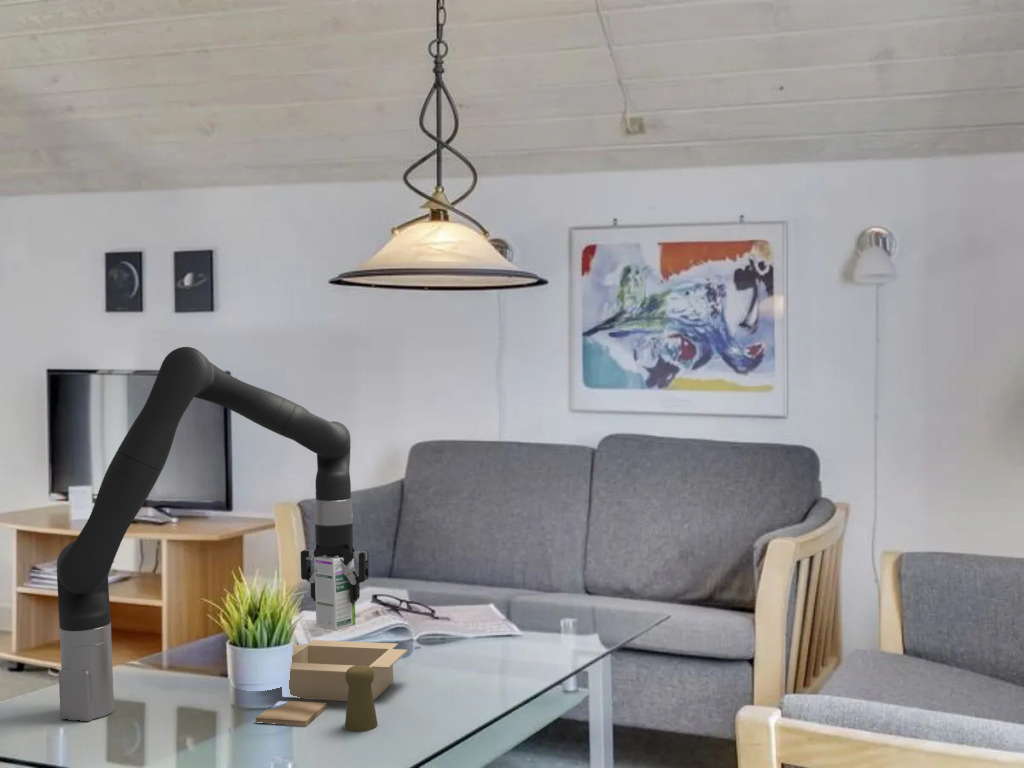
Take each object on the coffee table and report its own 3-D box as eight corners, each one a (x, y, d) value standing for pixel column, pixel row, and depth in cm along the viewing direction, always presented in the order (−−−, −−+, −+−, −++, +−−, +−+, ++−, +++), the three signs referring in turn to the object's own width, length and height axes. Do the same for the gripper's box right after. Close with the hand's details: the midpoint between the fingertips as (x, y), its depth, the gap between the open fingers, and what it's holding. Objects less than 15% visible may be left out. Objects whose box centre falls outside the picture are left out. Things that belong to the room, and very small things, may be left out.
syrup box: (335, 631, 218) (334, 559, 218) (315, 626, 222) (313, 555, 221) (356, 625, 223) (355, 554, 222) (335, 621, 227) (334, 551, 226)
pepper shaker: (347, 720, 205) (346, 662, 205) (379, 719, 205) (378, 661, 204) (341, 731, 199) (339, 672, 199) (374, 731, 199) (373, 671, 198)
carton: (414, 677, 230) (413, 644, 230) (382, 709, 211) (381, 673, 210) (299, 671, 236) (298, 639, 236) (257, 702, 216) (256, 667, 216)
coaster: (306, 726, 202) (305, 721, 202) (255, 723, 204) (255, 718, 204) (326, 708, 212) (326, 702, 212) (278, 705, 214) (278, 700, 214)
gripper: (293, 523, 220) (294, 604, 220) (360, 524, 216) (362, 607, 217) (308, 517, 227) (309, 595, 228) (373, 518, 224) (375, 598, 224)
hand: (335, 601), depth 222 cm, fingers closed on syrup box, 7 cm apart
